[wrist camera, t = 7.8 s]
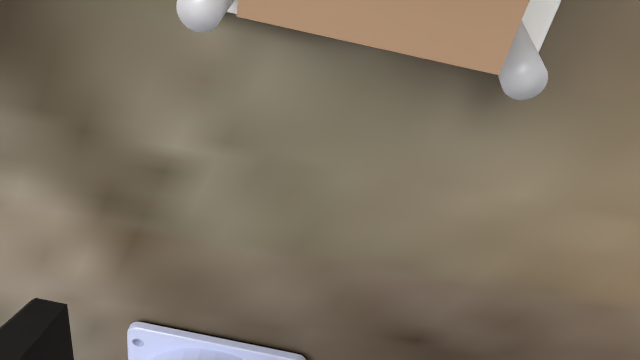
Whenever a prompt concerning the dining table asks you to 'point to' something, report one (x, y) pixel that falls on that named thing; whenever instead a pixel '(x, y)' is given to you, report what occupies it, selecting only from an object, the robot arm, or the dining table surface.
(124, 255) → the dining table surface
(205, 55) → the dining table surface
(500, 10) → the walnut block
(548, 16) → the standoff plate
